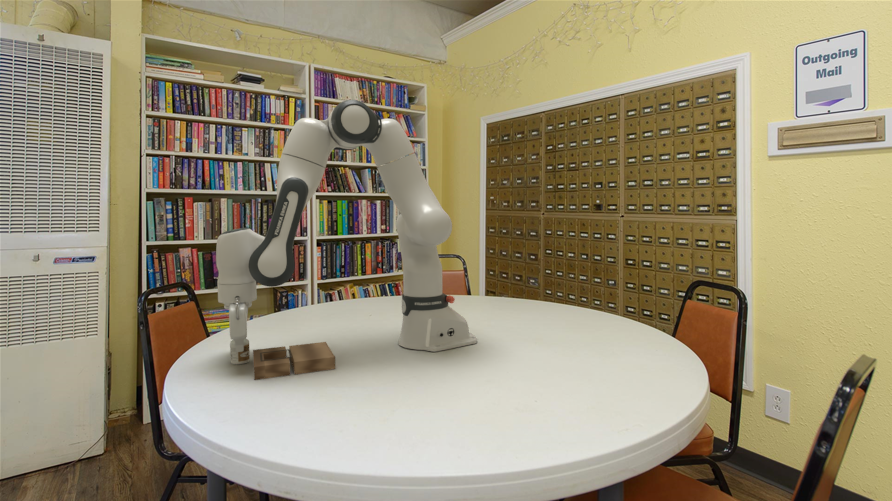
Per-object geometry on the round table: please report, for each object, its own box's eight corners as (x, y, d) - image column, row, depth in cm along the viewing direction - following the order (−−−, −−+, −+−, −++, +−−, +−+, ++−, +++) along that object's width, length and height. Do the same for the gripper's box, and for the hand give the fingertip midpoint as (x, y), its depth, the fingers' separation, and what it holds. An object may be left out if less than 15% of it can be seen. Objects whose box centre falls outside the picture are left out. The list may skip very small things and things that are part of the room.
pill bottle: (242, 365, 116) (241, 334, 115) (227, 364, 117) (225, 333, 116) (253, 359, 120) (252, 330, 120) (238, 358, 121) (236, 329, 120)
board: (326, 352, 126) (325, 341, 126) (335, 368, 113) (334, 356, 113) (253, 361, 119) (252, 349, 119) (254, 379, 106) (253, 366, 106)
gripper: (251, 299, 109) (254, 358, 110) (250, 286, 128) (252, 336, 129) (221, 302, 106) (224, 361, 108) (225, 288, 125) (227, 339, 126)
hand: (240, 347), depth 118 cm, fingers closed on pill bottle, 4 cm apart
